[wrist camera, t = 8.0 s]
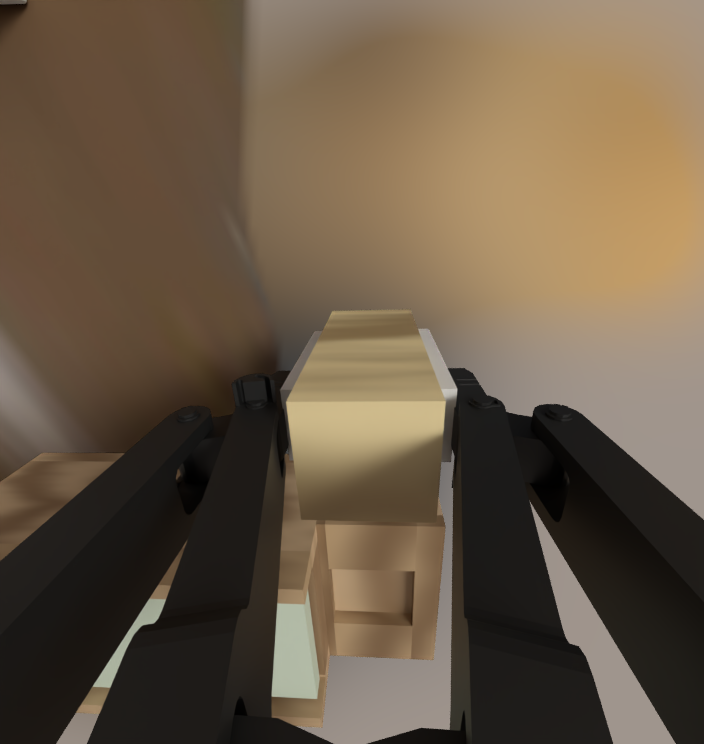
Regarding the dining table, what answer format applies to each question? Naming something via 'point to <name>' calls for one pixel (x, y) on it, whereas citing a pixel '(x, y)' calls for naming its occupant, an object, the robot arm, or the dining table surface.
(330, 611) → the toolbox
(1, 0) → the product box
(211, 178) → the dining table surface
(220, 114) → the dining table surface
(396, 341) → the beige wooden block
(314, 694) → the lid
